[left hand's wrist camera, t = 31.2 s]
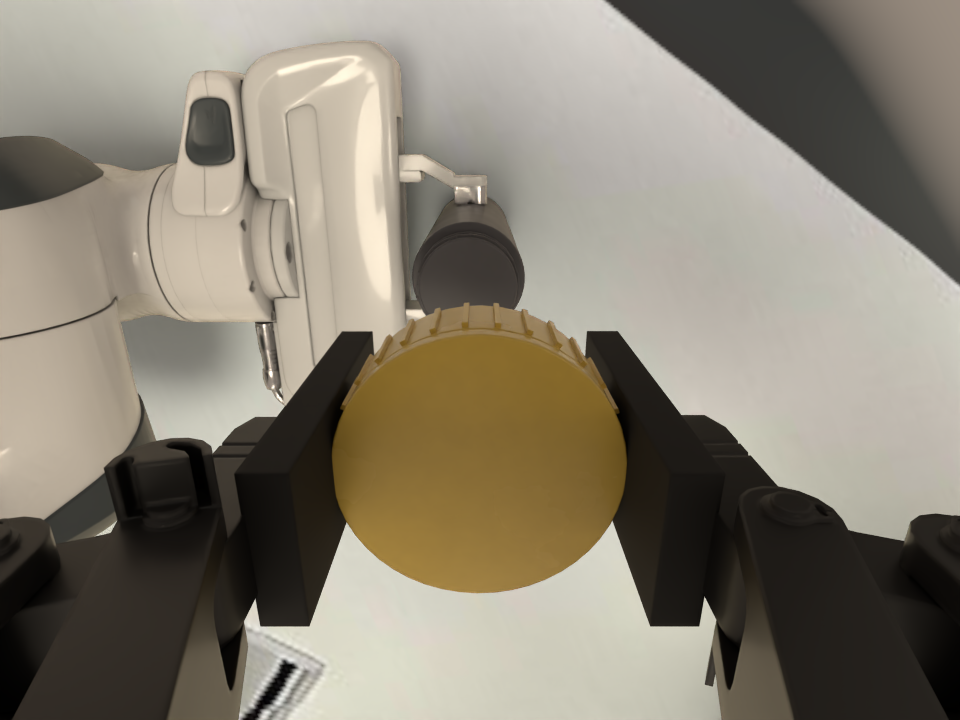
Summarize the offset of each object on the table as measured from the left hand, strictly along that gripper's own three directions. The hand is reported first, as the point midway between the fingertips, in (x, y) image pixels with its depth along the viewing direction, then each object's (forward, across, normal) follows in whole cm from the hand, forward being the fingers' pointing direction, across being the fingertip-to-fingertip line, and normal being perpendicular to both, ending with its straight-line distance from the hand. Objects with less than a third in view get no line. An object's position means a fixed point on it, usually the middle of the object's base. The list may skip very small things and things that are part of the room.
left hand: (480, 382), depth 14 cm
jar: (+26, 0, 0) cm, 26 cm away
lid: (-4, 0, 0) cm, 4 cm away
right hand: (+19, 0, 0) cm, 19 cm away
